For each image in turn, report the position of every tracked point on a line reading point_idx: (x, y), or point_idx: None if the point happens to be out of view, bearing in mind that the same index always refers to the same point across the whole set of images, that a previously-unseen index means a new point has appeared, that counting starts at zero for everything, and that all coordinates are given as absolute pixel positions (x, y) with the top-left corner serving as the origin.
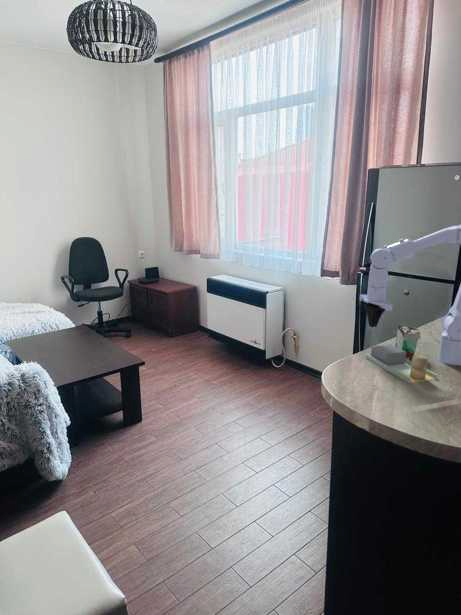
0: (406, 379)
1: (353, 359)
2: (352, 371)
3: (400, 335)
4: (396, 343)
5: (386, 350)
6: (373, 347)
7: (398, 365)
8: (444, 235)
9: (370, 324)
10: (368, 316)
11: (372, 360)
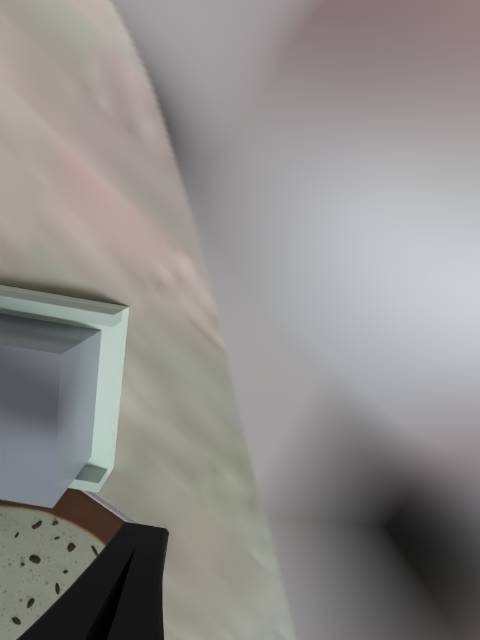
0: None
1: (169, 254)
2: (15, 98)
3: (22, 632)
4: None
5: None
6: (41, 351)
7: None
8: None
9: (125, 538)
10: (130, 634)
11: (49, 299)
